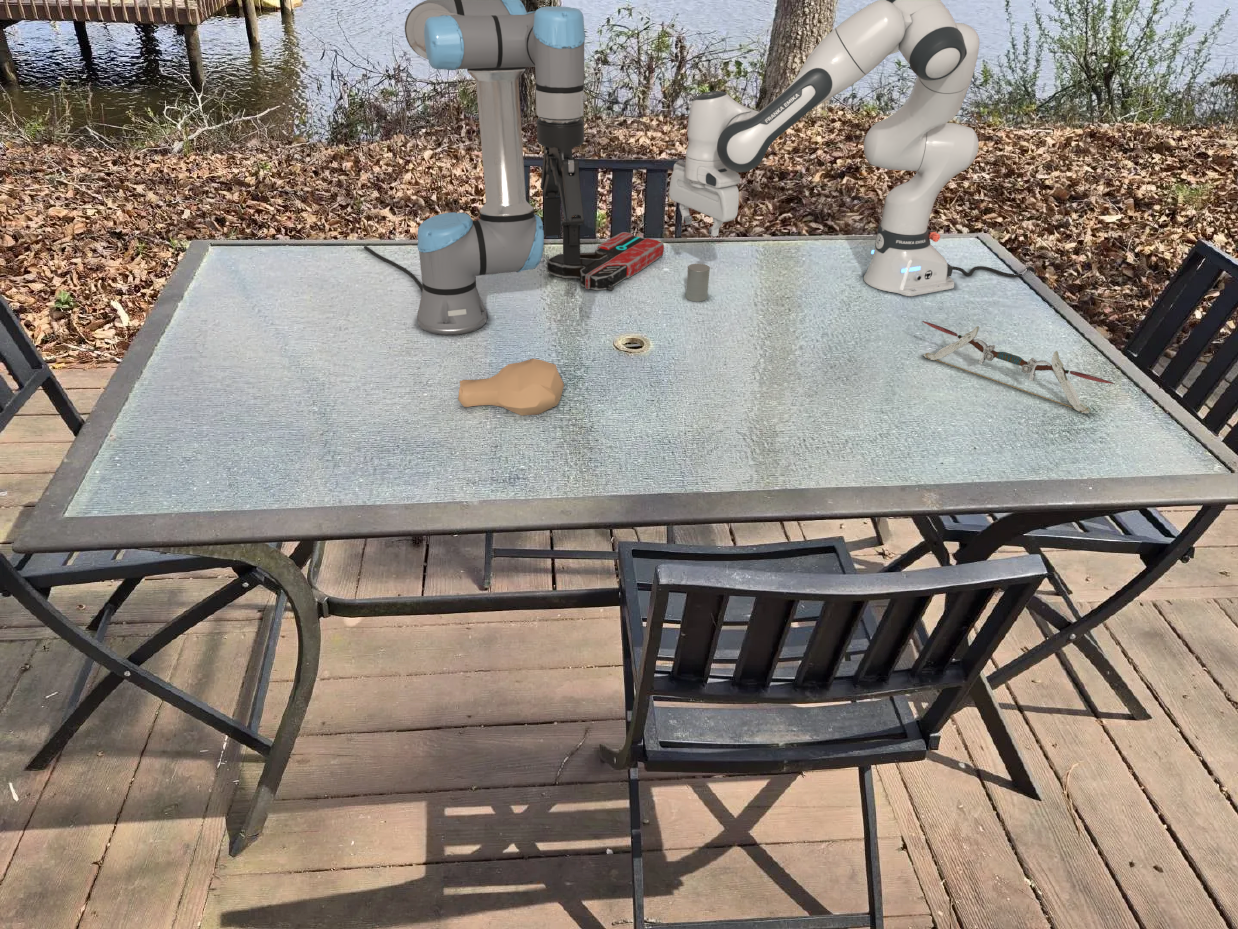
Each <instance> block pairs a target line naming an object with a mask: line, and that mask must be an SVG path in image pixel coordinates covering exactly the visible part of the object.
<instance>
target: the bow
mask: <svg viewBox="0 0 1238 929" xmlns="http://www.w3.org/2000/svg"><path fill="white" fill-rule="evenodd" d="M921 322H922V323H924V324H925V325H927V326H929V327H931V328H933V329H935V330H938V331H940V332H942V333H944V334H947V335H949V336H950V335H951V336H953V337H957V339H958V340H957V341H956V342H952V343H950V344H948V345H946V346H944V347H942V348H941V349H939V350H938V351H937V352H925V353H924V354H923V357H924V358H926V360H929V361H937V362H939V363H943V364H945V365H948V366H951V367H954V368H957V369H959V370H962V371H966V372H968V373H971V374H974V375H977V376H980V377H983V378H985V379H987V380H988V379H989V380H991V381H994V382H997V383H1000V384H1003V385H1005V386H1008V387H1012V388H1015V389H1017V390H1020V391H1023V392H1026V393H1028V394H1031V395H1033V396H1037V397H1040V398H1043V399H1046V400H1048V401H1052V402H1055V403H1057V404H1060V405H1063V406H1066V407H1069V408H1072V409H1074V410H1075V411H1077V412H1079V413H1082V414H1090V412H1091V411H1092V409H1090V408H1089V407H1087V406H1085V404H1083V403H1082V402H1080V399H1079V396H1078V393H1077V391H1076V389H1075V386H1074V385H1073V384H1072V382H1071V381H1070V380H1069V378H1068V377H1067V374H1070V375H1073V376H1075V377H1079V378H1082V379H1084V380H1089V381H1094V382H1097V383H1103V384H1109V385H1113V384H1114V382H1113V381H1110V380H1107V379H1103V378H1102V377H1098V376H1094V375H1091V374H1089V373H1088V374H1087V373H1084V372H1081V371H1080V372H1079V371H1075V370H1069V369H1065V367H1064V366H1065V365H1064V363H1063V361H1062V360H1061V359H1060V355H1059V351H1058V350H1055V351H1054V352H1053V353H1052V357H1051V360H1050V361H1051V362H1049V361H1047V360H1037V359H1035V358H1034V357H1031V358H1030V359H1029V360H1024V358H1022V357H1021V356H1019V355H1015V354H1012V353H1010V352H1008V351H996V350H995V349H996V345H995V344H993V345H991V344H990V345H988V344H987V343H986V342H985V341H984V340H982V339H979V338H976V336H978V333H979V329H980V326H978V325H977V326H976V327H974V328H973V329H972V330H971V331H969V332H966V333H965V334H963V335H962V334H958V333H957V332H955V331H952V330H950V329H948V328H946V327H943V326H940V325H937V324H936V323H935V324H934V323H931V322H928V321H925V320H922V321H921ZM975 338H976V339H975ZM969 345H972V346H973V347H974V348H975V349H976V350H978V351H979V352H981V353H982V354H981V357H979V360H978V362H977V364H980V365H983V364H984V363H985V361H988V362H992V361H993V360H994V359H995V358H996V359H998V360H1001V361H1005V362H1007V363H1010V364H1013V365H1016V366H1019V367H1020V366H1021V372H1023V373H1024V374H1029V375H1028V381H1030V382H1034V381H1035V380H1036V372H1037V371H1038V372H1039V371H1041V372H1042V371H1043V372H1044V371H1051V372H1052V373H1053V374H1054V376H1055V377H1056V379H1057V381H1058V382H1059V384H1060V387H1061V389H1062V391H1063V393H1064V394H1065V397H1066V399H1067V401H1068V402H1069V404H1070V405H1069V404H1065V403H1063V402H1061V401H1057V400H1054V399H1051V398H1048V397H1046V396H1043V395H1040V394H1037V393H1034V392H1031V391H1028V390H1025V389H1023V388H1020V387H1016V386H1014V385H1012V384H1008V383H1005V382H1003V381H999V380H996V379H995V378H991V377H988V376H985V375H982V374H979V373H976V372H974V371H971V370H968V369H965V368H962V367H959V366H957V365H954V364H951V363H948V362H945V361H942V360H940V359H942V358H946V357H948V356H949V355H951V354H953V353H954V352H957V351H958V350H959V349H962V348H964V347H966V346H969Z"/></svg>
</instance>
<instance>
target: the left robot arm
mask: <svg viewBox="0 0 1238 929" xmlns="http://www.w3.org/2000/svg"><path fill="white" fill-rule="evenodd" d="M584 18H585V17H584V14H583V12H582V11H581V10H580V9H579V8H577V7H571V6H558V5H557V6H554V5H553V6H542V7H538V8H537V9H536V10H535V11H527V10H526V7H525V5H524V3H523V2H522V1H521V0H423V1H422V2H419V3H418V4H416V5H415V6H413V7H412V9H410V10H409V11H408V14H407V16H406V19H405V21H404V34H405V39H406V41H407V44H408V45H409V47H410V48H411V50H412V51H413V52H414V53H415V54H417V55H418V56H419V57H421V58H423V59H425V60H427V61H428V64H429V66H430V67H431V68H432V69H434V70H447V71H456V70H466V73H468V74H469V75H470V76H471V78H472V79H473V80H474V82H475V86H476V88H475V90H476V98H477V99H476V100H477V112H478V124H479V135H480V147H481V148H480V149H481V159H482V160H481V161H482V170H483V182H484V184H483V185H484V193H485V203H484V205H482V206H481V208H480V209H479V216H480V217H479V219H475V220H473V218H472V217H471V216H470V215H469V214H468V213H465V212H457V211H452V212H446V213H445V212H444V213H439V214H437V215H433V216H431V217H429V218H427V219H426V220H423V221H422V222H421V223H420V224H419V226H418V227H417V247H416V248H417V251H418V256H419V263H420V275H421V276H420V277H421V281H420V280H419V279H418V278H417V277H416V275H414V274H413V272H411V271H410V270H408V269H407V268H405V267H404V266H402V265H400V264H398V263H396V262H395V261H393V260H390V259H388V258H386V257H384V256H382V255H380V254H379V253H377V252H375V251H374V250H373V249H371V248H370V247H368V246H367V245H364V246H363V249H364V250H366V252H368V253H370V254H371V255H373V256H374V257H375V258H377V259H379V260H381V261H383V262H385V263H387V264H389V265H391V266H392V267H395V268H396V269H398V270H399V271H400V270H401V271H402V272H404V273H405V274H406V275H407V276H409V277H410V278H411V279H412V280H413V281H414V282H415V284H416V285H417V286H418V287H419V290H420V291H421V297H420V302H419V305H418V310H417V316H416V318H417V325H418V326H419V328H420V329H421V330H423V331H424V332H427V333H430V334H433V335H440V336H459V335H465V334H469V333H473V332H476V331H477V330H480V329H481V328H483V327H484V326H485V325H486V323H487V320H488V316H487V310H486V306H485V304H484V302H483V299H482V298H481V295H480V293H479V291H478V288H477V278H476V277H478V276H486V275H487V276H488V275H497V274H507V273H522V272H526V271H531V270H534V269H536V268H537V267H538V266H539V265H540V263H541V260H542V258H543V254H544V245H545V237H555V236H561V234H562V254H563V263H564V264H567V263H579V262H580V253H581V225H584V224H585V216H584V207H583V198H582V190H581V181H580V180H581V179H580V161H579V159H578V158H575V156H573V149H574V148H577V147H580V146H582V145H583V144H584V142H585V121H584V119H583V118H582V117H583V116H584V114H585V112H584V111H585V104H584V102H586V101H587V100H588V96H587V94H585V41H586V31H585V19H584ZM532 67H533V68H534V71H535V72H534V73H535V115H536V116H538V119H537V120H536V142H537V143H538V144H539V145H540V146H542V147H543V156H542V157H543V158H542V168H541V179H540V189H541V191H542V196H543V197H544V198H543V211H544V212H543V213H544V216H543V218H544V225H543V220H542V218H541V217H540V216H539V215H537V214H535V209H534V207H533V206H532V205H531V204H530V203H529V202H528V201H527V194H526V193H527V192H526V180H525V178H526V177H525V163H524V148H523V147H524V146H523V133H522V119H521V116H522V115H521V102H520V84H519V80H520V78H521V76H522V75H523V74H524V73H525V71H526V68H532ZM561 209H562V216H563V220H561ZM561 228H562V229H561ZM561 230H562V232H561Z"/></svg>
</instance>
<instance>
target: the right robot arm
mask: <svg viewBox="0 0 1238 929" xmlns="http://www.w3.org/2000/svg"><path fill="white" fill-rule="evenodd" d="M979 50H980V37H979V34H978V32H977V30H975V29H974V27H972V26H971V25H969V24H966V23H962V22H955V19H954V17H953V15H952V13H951V12H950V10H949V9H948V8H947V7H946V5H945V4H944V3H943V1H942V0H875V1H873V2H872V3H870V4H868V5H866V6H864V7H863V8H861V9H859V10H858V11H856V12H854V13H853V14H852V15H850V16H849V17H847V18H846V19H845V20H844V21H842V22H841V23H840V24H838V25H837V26H835V27H834V29H832V30H831V31H830V32H829V33H828V34H827V35H826V36H825V37H824V38H822V39H821V41H820V42H819V43H818V44H817V45H816V46H815V48H813V50H812V51H811V52H810V54H809V55H808V56H807V58H806V59H805V62H804V64H803V65H802V67H801V69H800V71H799V72H798V73H797V75H796V77H795V78H794V80H793V81H792V82H791V83H790V84H789V86H787V87H786V89H785V90H784V91H782V92H781V93H780V94H779V95H778V96H776V97H775V98H774V99H772V101H771V102H769V103H768V104H767V105H765V107H763V108H762V109H761V110H760V111H759V110H756V109H753V108H750V107H747V106H745V105H743V104H741V103H739V102H738V101H736V100H735V99H734V98H732V97H731V96H730V95H729V93H727V92H725V91H723V90H721V91H720V90H713V91H707V92H703V93H701V94H698V95H697V96H696V97H695V98H694V99H693V100H692V102H691V104H690V109H689V114H688V120H687V129H686V130H687V131H686V136H687V142H688V144H687V148H686V152H685V161H684V160H682V159H679V160H677V161H676V162H675V163H674V164H673V171H672V173H671V176H670V180H669V186H668V187H669V188H668V196H669V199H670V200H671V201H672V202H675V203H678V204H679V206H678V207H679V211H680V214H681V216H682V217H681V223H682V224H684V225H687V226H688V225H691V224H692V223H693V221H692V220H693V216H692V215H691V213H690V209H691V210H694V211H696V212H698V213H701V214H703V215H706V216H708V217H710V218H712V223H713V224H712V226H710V227H709V228H708V235H709V236H711V237H713V238H715V237H717V236H718V235H719V232H720V228H721V227H722V225H723V224H724V223H727V222H731V221H735V219H736V218H737V216H738V212H739V202H740V193H739V192H740V191H739V188H738V186H737V185H739V184H740V182H741V175H740V174H739V173H747V172H750V171H752V170H755V169H756V168H757V167H758V166H759V165H760V164H761V162H762V161H763V159H764V158H765V156H766V153H767V152H768V150H769V148H770V146H772V144H773V143H774V142H775V141H776V140H777V139H778V138H779V137H781V135H782V134H784V133H785V132H786V131H788V130H789V129H790V128H791V127H792V126H793V125H795V124H796V123H797V122H798V121H800V120H801V119H802V118H803V117H805V115H807V114H808V113H809V112H811V111H812V110H814V109H815V108H817V107H818V106H820V105H822V104H824V103H825V102H827V101H829V100H830V99H831V98H833V97H835V96H836V95H839V94H840V93H842V92H844V91H845V90H847V89H849V88H850V87H851V86H853V85H855V84H856V83H857V82H859V81H861V80H862V79H863V78H864V77H865V76H866V75H868V74H869V73H870V72H871V71H873V70H874V69H875V68H876V67H877V66H879V64H881V63H882V62H883V61H884V60H885V59H886V58H887V57H888V56H891V55H893V54H896V53H897V54H898V53H899V52H900V53H901V55H902V56H903V58H904V60H905V61H906V62H907V63H908V65H909V67H910V70H911V71H912V72H913V73H914V74H915V75H916V78H915V82H914V83H913V88H912V89H911V92H910V93H909V96H908V98H907V100H906V101H905V103H903V105H901V107H899V109H898V110H896V111H895V112H894V113H893V114H891V115H889V116H888V117H886V118H884V119H882V120H880V121H878V122H875V123H874V124H873V125H872V126H871V127H870V128H869V130H868V131H867V133H866V135H865V137H864V139H863V140H864V141H863V154H864V157H865V159H866V161H867V162H868V164H869V165H870V166H872V167H873V166H874V167H877V168H881V169H885V170H889V171H905V172H915V174H914V175H913V177H912V178H911V179H909V180H908V181H907V182H904V183H902V184H898V185H896V186H895V187H893V188H892V189H891V190H890V191H889V192H888V193H887V195H886V196H885V200H884V205H883V209H882V215H881V221H880V223H879V224H878V227H877V231H876V235H875V242H874V249H872V250H871V252H870V254H871V255H872V257H871V260H870V263H869V265H868V267H867V270H866V271H865V274H864V275H863V278H862V279H863V282H865V283H866V285H868V286H870V287H872V288H874V289H878V290H880V291H884V292H890V293H895V294H899V295H902V296H904V297H915V296H921V295H927V294H931V293H937V292H942V291H947V290H948V291H949V290H953V289H954V288H955V281H954V280H953V279H952V275H953V271H957V272H961V273H962V275H964V276H965V277H971V276H972V275H973V274H974V272H975V271H977V270H979V271H980V270H982V271H988V272H991V273H994V274H997V275H1000V276H1004V277H1008V278H1018V277H1022V276H1023V275H1022V274H1019V275H1014V274H1015V273H1009V272H1004V271H1002V270H998V269H996V268H993V267H989V266H984V265H983V266H982V265H977V266H974V267H972V268H971V269H970V271H968V272H967V271H966V270H965V269H964V268H963V267H959V266H952V264H949V263H948V262H947V259H946V258H945V257H944V256H943V255H942V254H941V253H940V252H939V251H938V250H937V249H936V248H935V247H934V246H933V245H932V244H931V241H933V243H937V242H939V241H940V239H941V234H939V233H937V232H936V231H932V230H930V229H929V228H928V226H929V222H930V218H931V215H932V211H933V208H934V205H935V202H936V200H937V199H938V196H939V195H940V193H941V191H942V190H943V188H944V187H945V186H946V185H947V184H948V183H949V182H950V181H951V180H952V179H953V178H955V177H956V176H957V175H959V174H960V173H962V172H965V170H967V169H968V168H969V167H970V166H971V165H972V164H973V163H974V161H975V160H976V158H977V155H978V154H979V153H978V152H979V138H978V135H977V133H976V131H975V130H974V129H973V128H972V127H969V126H967V125H963V124H959V123H955V122H950V121H951V120H952V119H953V118H955V117H956V116H957V114H959V112H960V110H961V109H962V106H963V103H964V100H965V98H966V96H967V94H968V93H967V92H968V90H969V87H970V85H971V82H972V79H973V76H974V73H975V69H976V66H977V61H978V57H979V52H980V51H979ZM1025 269H1027V270H1029V271H1031V273H1036V270H1035V268H1034V267H1033V266H1027V267H1026V268H1025Z"/></svg>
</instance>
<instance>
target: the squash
mask: <svg viewBox="0 0 1238 929" xmlns="http://www.w3.org/2000/svg"><path fill="white" fill-rule="evenodd" d="M564 388H565V384H564V381H563V379H562V377H561V375H560V373H559V371H558V366H557V364H555V363H552V362H548V361H546V360H542V359H538V358H530V359H526V360H524V361H520V362H519V361H518V362H514V363H513V362H512V363H508V364H506V365H505V366H503V367H502V368H501V369H500V370H499V371H498V373H497V374H494V375H492V376H491V377H488V378H487V377H486V378H480V379H462V380H459V390H458V397H457V401H458V402H459V403H460V404H461V405H462V406H463V407H464V408H469V407H475V406H495V407H499V408H500V407H501V408H504V409H505V410H508V411H510V412H512V413H514V414H517V415H519V416H530V415H531V416H534V415H540V414H542V413H545V412H547V411H548V410H550V409H553V408H554V407H556V406H558V405H559V403H560V401H561V398H562V394H563V391H564Z"/></svg>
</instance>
